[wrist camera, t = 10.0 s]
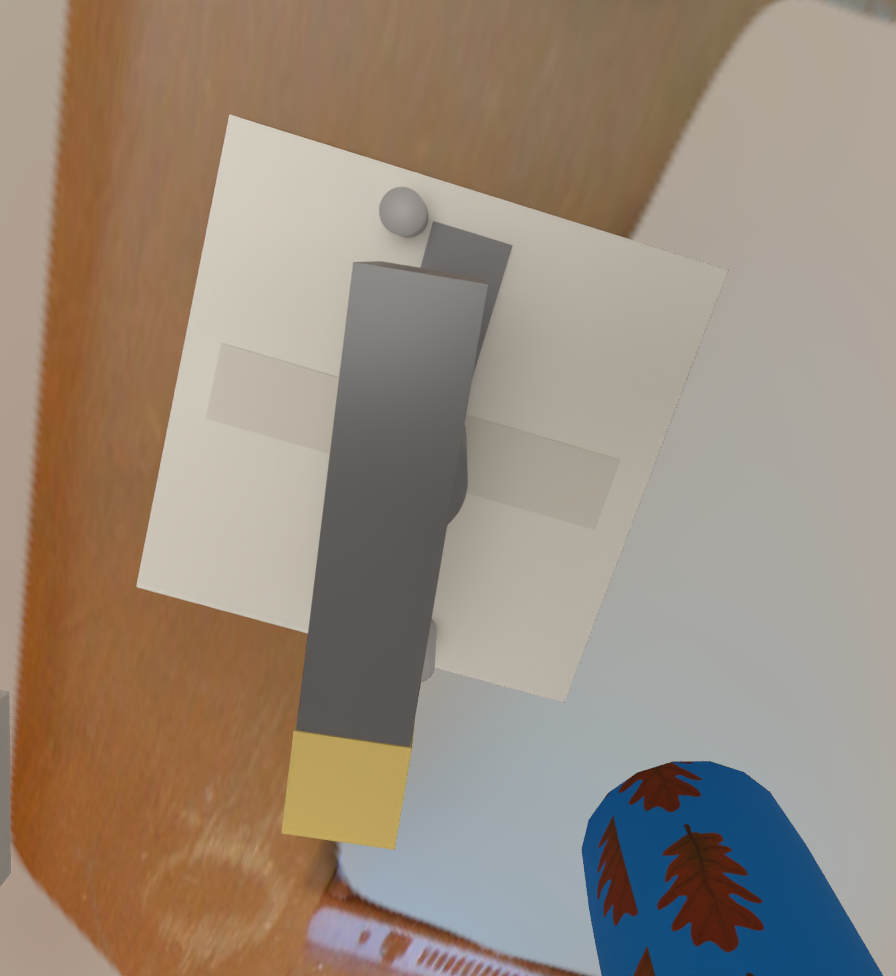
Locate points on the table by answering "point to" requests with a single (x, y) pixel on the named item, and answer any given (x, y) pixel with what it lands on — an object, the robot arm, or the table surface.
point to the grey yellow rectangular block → (380, 546)
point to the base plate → (490, 412)
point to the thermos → (710, 882)
